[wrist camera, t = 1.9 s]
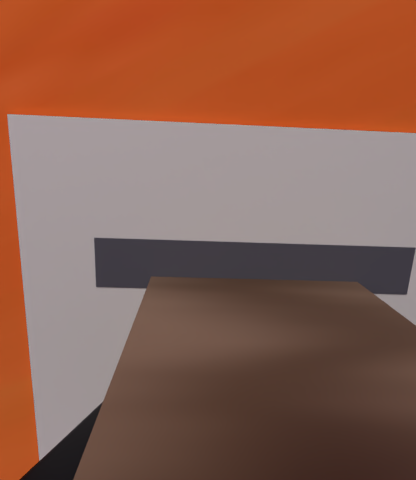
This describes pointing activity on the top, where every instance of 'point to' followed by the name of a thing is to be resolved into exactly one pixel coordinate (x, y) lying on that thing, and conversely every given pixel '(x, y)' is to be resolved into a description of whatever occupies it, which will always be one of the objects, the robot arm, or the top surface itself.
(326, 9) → the top surface
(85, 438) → the robot arm
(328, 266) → the letter card
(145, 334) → the walnut block
